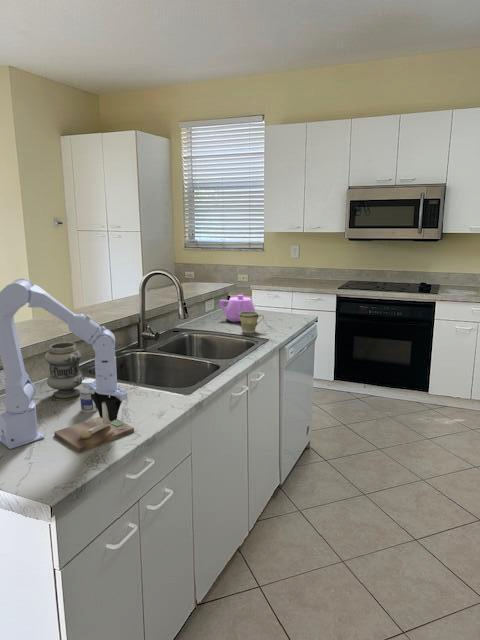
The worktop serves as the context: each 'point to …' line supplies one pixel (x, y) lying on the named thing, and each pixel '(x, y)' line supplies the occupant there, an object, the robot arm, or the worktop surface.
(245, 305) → the teapot
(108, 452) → the worktop surface
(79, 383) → the apothecary jar
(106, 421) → the peg lever
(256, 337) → the worktop surface
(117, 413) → the robot arm
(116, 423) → the tuner board
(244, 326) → the ceramic cup
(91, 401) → the pill bottle
